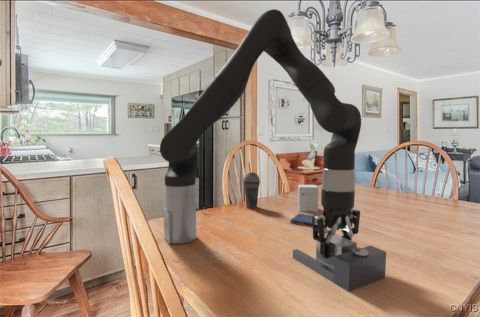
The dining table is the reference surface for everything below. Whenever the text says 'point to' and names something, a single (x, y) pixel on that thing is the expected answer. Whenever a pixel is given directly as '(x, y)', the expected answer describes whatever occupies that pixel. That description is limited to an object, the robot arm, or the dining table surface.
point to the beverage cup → (251, 189)
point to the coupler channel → (349, 267)
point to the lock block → (335, 249)
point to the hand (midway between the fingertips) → (335, 254)
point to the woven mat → (302, 220)
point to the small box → (308, 198)
